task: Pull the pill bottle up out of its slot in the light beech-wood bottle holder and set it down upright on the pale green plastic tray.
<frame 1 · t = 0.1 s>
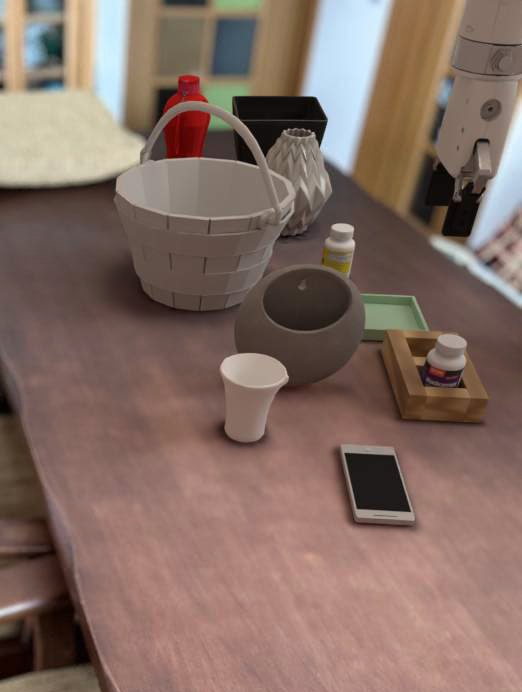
hand: (445, 219, 99), 28 cm above the table, tool pointing down, fingers open, 9 cm apart
tray: (367, 321, 140), on the table
holder: (427, 385, 125), on the table
planter: (289, 386, 124), on the table
basket: (197, 286, 149), on the table
water bottle: (179, 206, 179), on the table
pill bottle: (433, 401, 122), resting in holder
vase: (284, 229, 170), on the table
supplement bottle: (332, 281, 152), on the table
cup: (245, 432, 115), on the table
flower pot: (268, 187, 189), on the table
smartphone: (374, 486, 106), on the table
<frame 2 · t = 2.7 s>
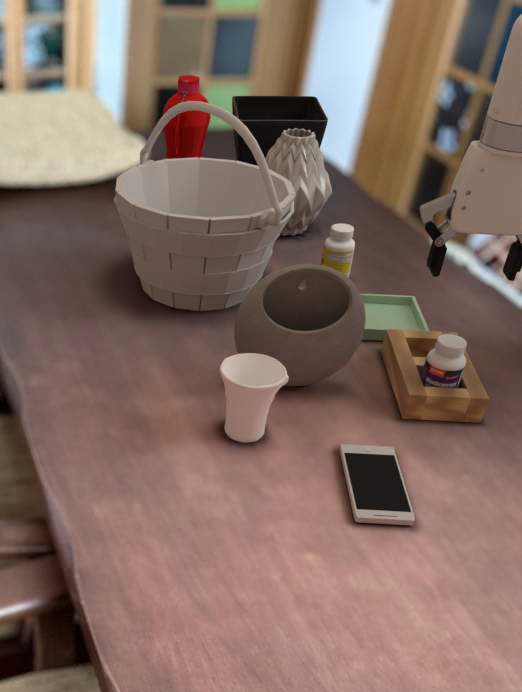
hand: (470, 274, 108), 19 cm above the table, tool pointing down, fingers open, 9 cm apart
nothing on the table moved.
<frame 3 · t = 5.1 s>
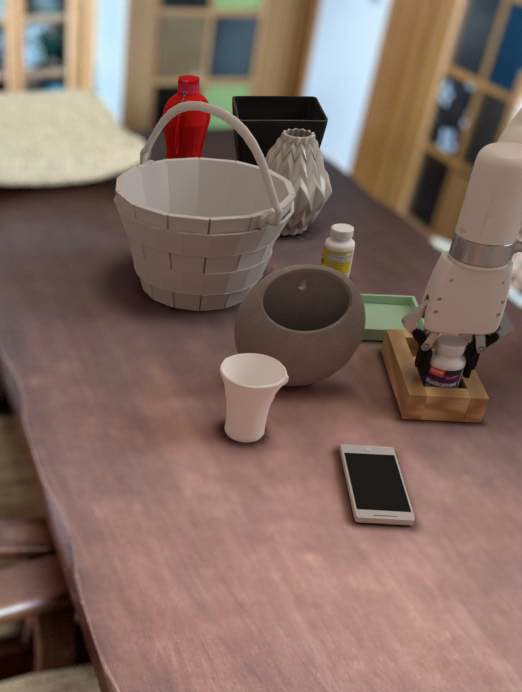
hand: (442, 371, 118), 5 cm above the table, tool pointing down, fingers closed on pill bottle, 5 cm apart
pill bottle: (433, 401, 122), resting in holder, touching gripper
everything else where it was.
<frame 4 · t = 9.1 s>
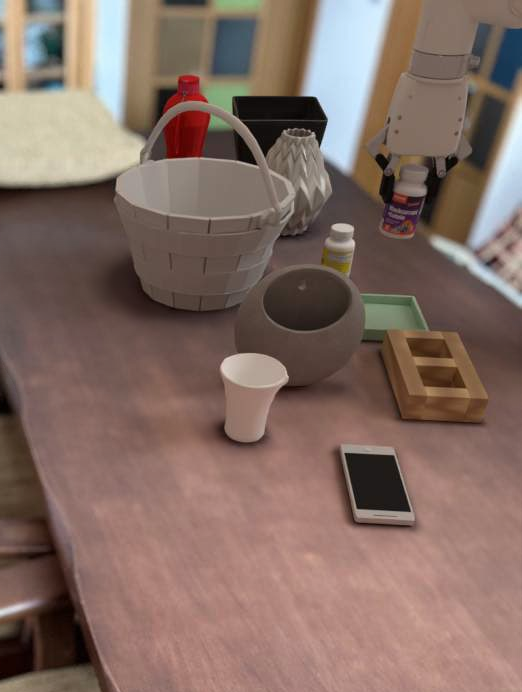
hand: (406, 200, 124), 21 cm above the table, tool pointing down, fingers closed on pill bottle, 5 cm apart
pill bottle: (395, 234, 127), point 16 cm above the table, touching gripper
everything else where it was.
when the fingers open (6 cm above the table, at t = 13.2 s): pill bottle stays where it is, resting on tray.
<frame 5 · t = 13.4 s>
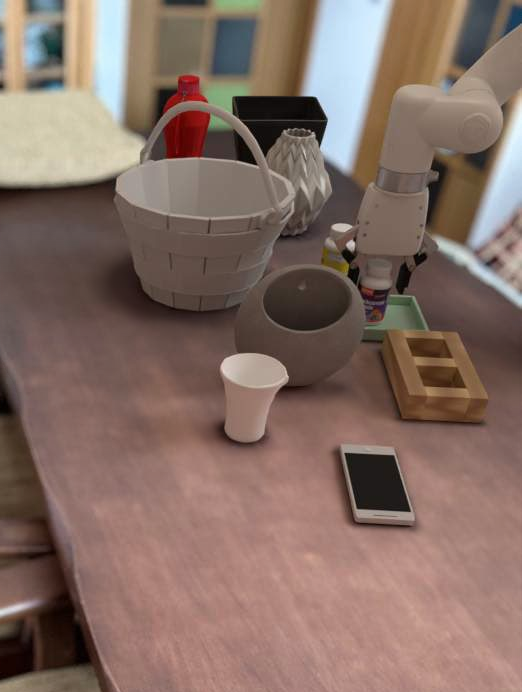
hand: (375, 289, 136), 6 cm above the table, tool pointing down, fingers open, 7 cm apart
pill bottle: (366, 320, 139), resting on tray
everything else where it was.
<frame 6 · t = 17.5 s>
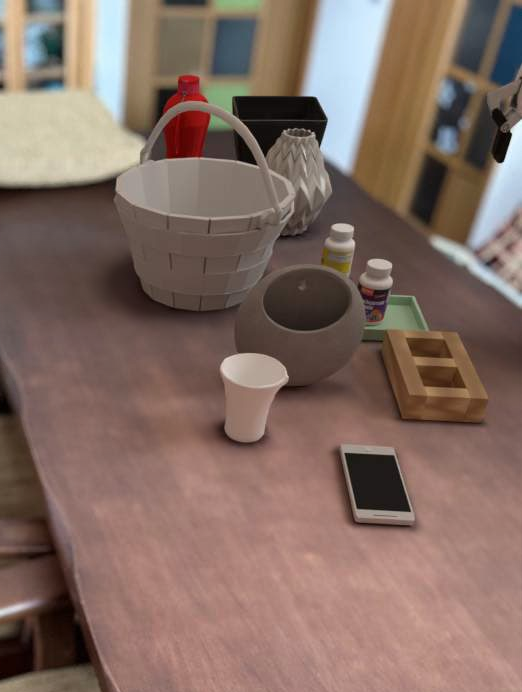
nothing on the table moved.
at the end: pill bottle inside the target area in the tray (0.3 cm from its centre), point 0.3 cm above the tray's base; pill bottle tilted 0°; pill bottle touching tray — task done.
